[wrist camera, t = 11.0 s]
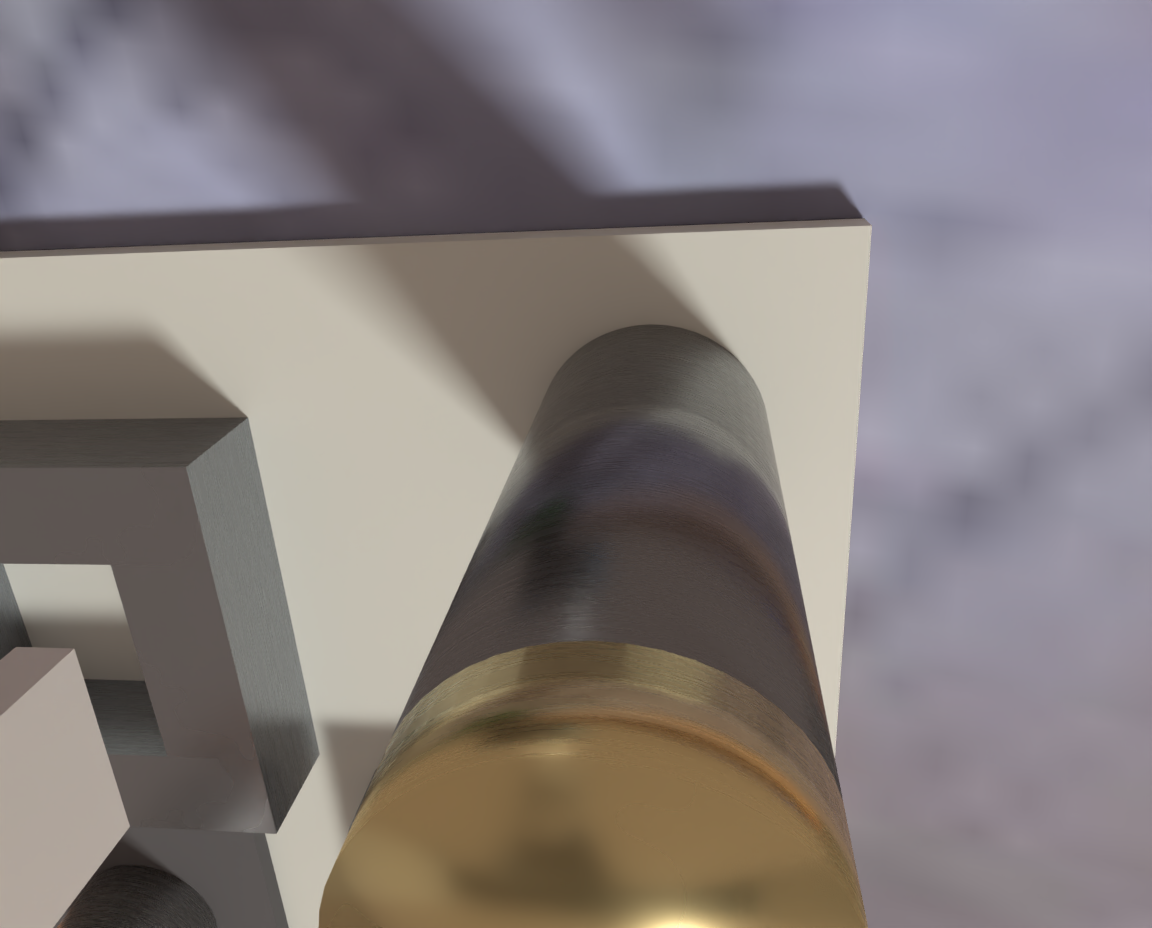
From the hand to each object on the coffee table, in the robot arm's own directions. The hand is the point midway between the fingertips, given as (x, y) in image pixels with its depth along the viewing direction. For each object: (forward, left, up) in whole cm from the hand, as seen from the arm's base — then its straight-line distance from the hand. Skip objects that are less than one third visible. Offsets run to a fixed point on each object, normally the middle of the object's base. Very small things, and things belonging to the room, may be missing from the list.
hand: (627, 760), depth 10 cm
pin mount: (+4, -13, -9) cm, 16 cm away
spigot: (0, 0, -9) cm, 9 cm away
